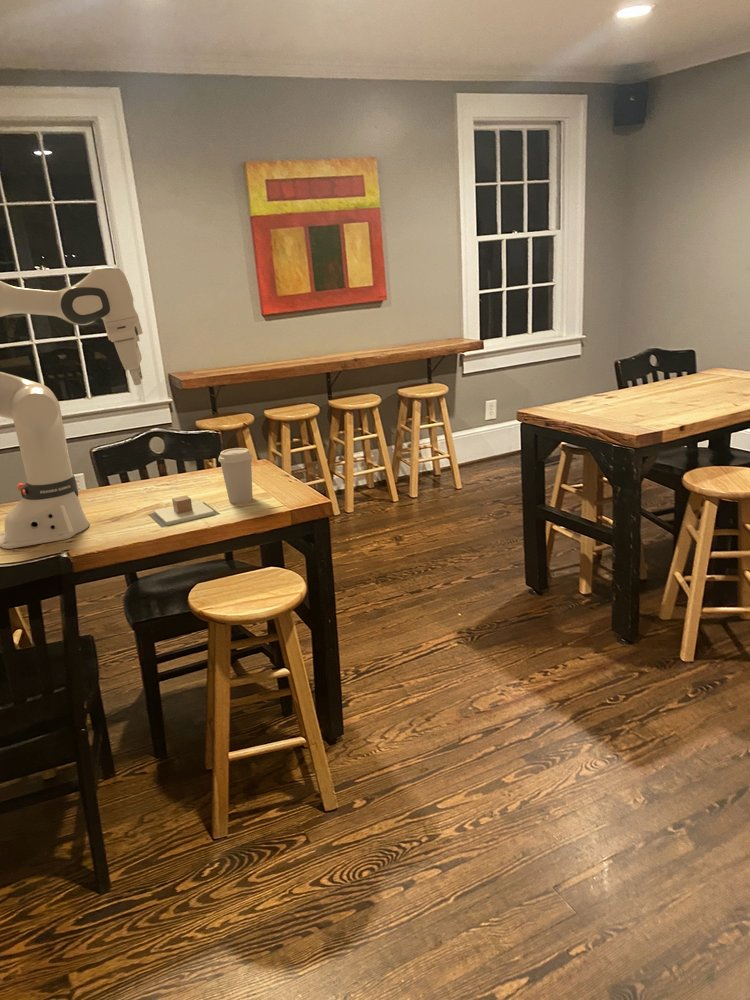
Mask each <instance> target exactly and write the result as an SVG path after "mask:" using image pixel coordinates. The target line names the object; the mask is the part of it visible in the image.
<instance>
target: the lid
mask: <svg viewBox="0 0 750 1000" xmlns="http://www.w3.org/2000/svg"><path fill="white" fill-rule="evenodd" d="M171 500H172V505H171V506H167V507H162V508H157V509H154V510H152V511H153V513H154V514H155V515H156V516H157V517H158V518H159V519H160V520H161V521H162V522H164V523H165V524H166V525H170V526H172V525H171V524H175V525H177V524H176V523H179V524H181V523H180V522H183V523H185V522H184V521H188V522H190V521H189V520H192V521H194V520H193V519H196V520H198V519H197V518H201V519H203V518H202V517H205V518H207V517H206V516H209V517H211V516H210V515H214V511H213V510H212V509H210V508H209V507H208V506H206V505H205V504H203V503H202V500H194V501H192V499H191V497H189V496H188V495H187V494H186V495H182V496H176V497H173V498H171ZM214 516H215V515H214Z"/></svg>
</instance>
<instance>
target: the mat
mask: <svg viewBox="0 0 750 1000" xmlns="http://www.w3.org/2000/svg"><path fill="white" fill-rule="evenodd" d="M201 502H202V501H201ZM202 503H203V504H205V505H206V506H208V507H209V508H210V509H212V510H213V511H214V515H210V516H206V517H202V518H197V519H193V520H189V521H184V522H180V523H176V524H171V525H166V524H165V523H164V522H162V521H161V520H160V519H159V518H158V517H157V516H156V515H155V514H154V512H153V513H148V516H149V517H150V518H151V519H152V521H154V522H155V523H157V525H159V527H160V528H167V527H169V526H174V525H180V524H183V523H186V522H191V521H197V520H199V519H204V518H208V517H213V516H217V515H221V513H220V512H219V511H217V510H216V509H214V507H212V506H210V505H209V504H208V503H206V502H205V501H203V502H202Z"/></svg>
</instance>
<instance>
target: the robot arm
mask: <svg viewBox="0 0 750 1000" xmlns="http://www.w3.org/2000/svg"><path fill="white" fill-rule="evenodd" d="M132 293H133V292H132V289H131V287H130V283H129V281H128V279H127V276H126V275H125V273H124V271H123V270H122V269H119V268H117V267H109V266H107V267H106V266H101V267H94V268H92V269H91V271H90V272H89V273H88V274H87V275H86V276H85V277H83V279H81V280H80V281H78V282H77V283H75V284H73V285H71V286H68V287H63V288H62V289H58V290H57V289H56V290H43V289H33V288H24V287H18V286H13V285H10V284H8V283H6V282H4V281H2V280H0V318H1V317H5V316H8V315H9V316H10V315H16V314H25V315H37V316H38V315H40V316H49V317H50V316H51V317H55V318H58V319H60V320H63V321H65V322H67V323H68V324H71V325H74V326H75V325H76V326H88V325H91V324H92V323H94V322H95V321H98V320H100V319H101V320H102V321H103V322H102V323H103V324H104V328H105V329H104V330H105V332H106V335H107V338H108V341H110V342H111V343H113V344H114V347H115V349H116V352H117V355H118V358H119V360H120V362H121V364H122V367H123V369H124V370H125V371H129V374H130V376H131V379H132V382H133V384H134V386H138V385H139V386H140V385H141V384H142V380H143V377H144V376H143V374H142V368H141V367H142V366H141V362H142V359H143V357H142V353H141V350H140V347H139V346H140V345H139V343H138V342H140V341H141V339H140V335H143V328H142V326H141V322H140V319H139V315H138V312H137V310H136V309H135V306H134V297H133V294H132ZM59 402H60V401H59V400H58V398H57V397H56V395H55V393H54V392H53V391H52V390H51V389H50V387H48V386H46V385H44V384H43V383H39V382H36V381H33V380H30V379H26V378H23V377H20V376H17V375H14V374H10V373H6V372H3V371H0V417H1V418H6V419H10V420H12V421H13V424H14V429H15V432H16V437H17V442H18V445H19V450H20V454H21V458H22V463H23V467H24V471H25V472H24V473H25V476H26V481H27V482H26V483H23V482H19V483H18V484H17V486H16V488H17V490H18V491H19V492H20V494H21V497H22V498H21V500H19V501H18V502H17V503H16V505H14V506H13V507H12V508H11V510H10V511H8V513H7V514H6V516H5V518H4V524H3V525H4V527H3V528H4V531H3V532H1V533H0V547H1V548H3V549H7V550H8V549H9V550H10V549H14V548H15V549H17V548H22V547H27V546H33V545H39V544H46V543H51V542H58V541H64V540H68V539H71V538H72V537H73V536H75V535H77V534H79V533H81V532H83V531H85V530H86V529H88V527H90V522H89V521H88V519H87V517H86V515H85V513H84V510H83V507H82V505H81V501H80V498H79V487H78V483H77V482H78V481H77V479H76V477H75V475H74V474H73V469H72V464H71V459H70V454H69V451H68V443H67V437H66V433H65V426H64V421H63V416H62V411H61V406H60V403H59Z"/></svg>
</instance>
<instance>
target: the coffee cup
mask: <svg viewBox="0 0 750 1000" xmlns="http://www.w3.org/2000/svg"><path fill="white" fill-rule="evenodd" d="M252 458H253V454H252V453H251V452H250V450H249V448H245V447H234V448H228V449H224V450H222V451H221V452H220V454H219V455H218V462H219V463H220V466H221V471H222V475H223V479H224V484H225V488H226V491H227V492H226V493H227V497H228V502H229V503H230V504H233V505H239V504H247V503H249V502H251V501H253V496H254V495H253V476H252V475H253V473H252V472H253V471H252Z"/></svg>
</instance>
